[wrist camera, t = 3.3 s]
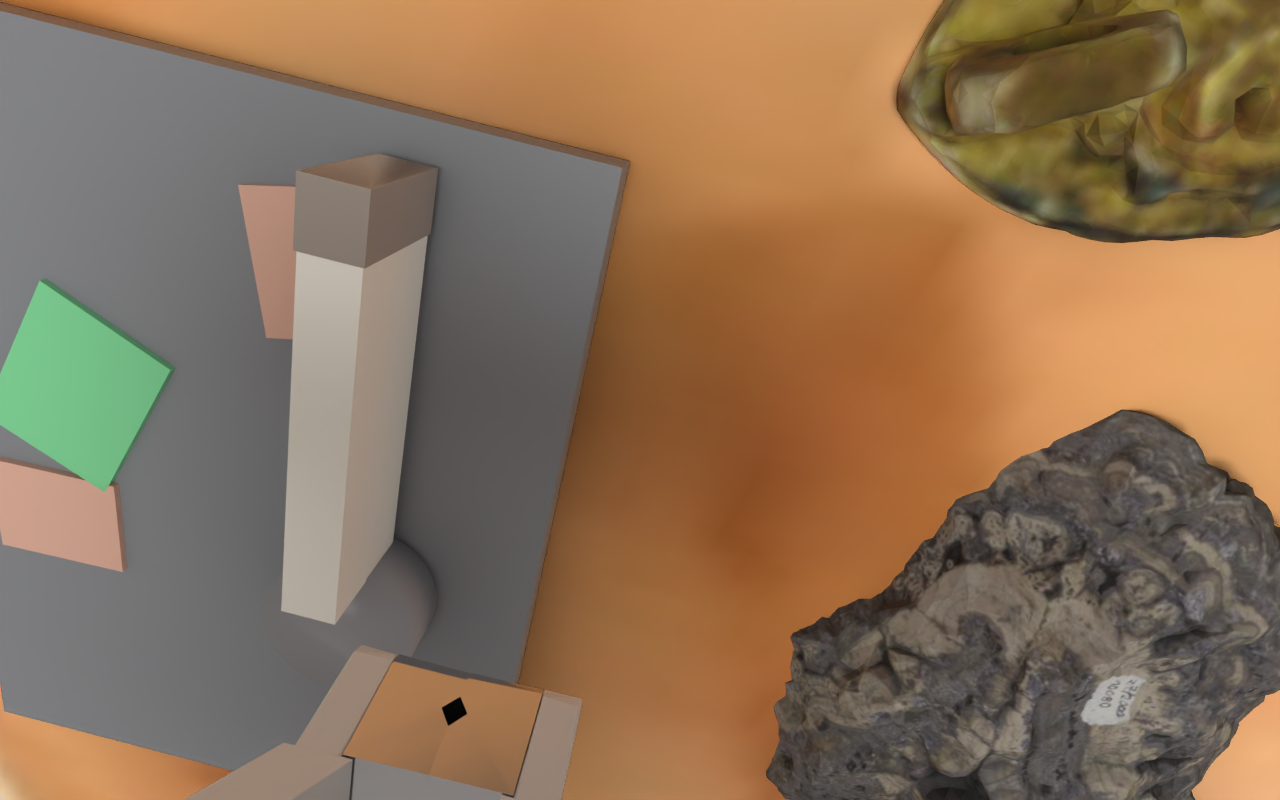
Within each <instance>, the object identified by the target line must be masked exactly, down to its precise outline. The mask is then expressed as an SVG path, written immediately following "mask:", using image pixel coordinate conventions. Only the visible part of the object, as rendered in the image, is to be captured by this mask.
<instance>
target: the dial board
mask: <svg viewBox="0 0 1280 800" xmlns="http://www.w3.org/2000/svg"><path fill="white" fill-rule="evenodd" d="M374 153H380V154H384V155H388V156H392V157H396V158H400V159H404V160H408V161H412V162H415V163H419V164H423V165H427V166H431V167H435V168H438V174H437V183H436V191H435V200H434V209H433V218H432V226H431V234H430V235H428V238H427V246H426V255H425V264H424V273H423V282H422V290H421V299H420V308H419V317H418V326H417V335H416V343H415V352H414V361H413V370H412V379H411V387H410V396H409V405H408V414H407V423H406V432H405V440H404V449H403V458H402V467H401V476H400V484H399V493H398V502H397V511H396V520H395V529H394V538H396V539H398V540H399V541H401V542H402V543H404V544H405V545H407V546H408V547H409V548H410V549H411V550H413V551H414V552H415V553H416V554H417V555H418V556H419V558H420V559H421V560H422V561H423V562H424V564H425V565H426V567H427V568H428V570H429V572H430V574H431V576H432V578H433V581H434V584H435V588H436V594H437V604H436V609H435V613H434V616H433V618H432V620H431V622H430V624H429V626H428V627H427V629H426V631H425V633H424V635H423V636H422V638H421V640H420V642H419V644H418V646H417V647H416V649H415V651H414V653H413V655H412V658H415V659H419V660H423V661H426V662H430V663H434V664H437V665H441V666H445V667H449V668H452V669H456V670H460V671H463V672H467V673H471V674H472V673H475V674H479V675H483V676H488V677H492V678H496V679H501V680H505V681H509V682H514V683H518V681H519V676H520V671H521V667H522V662H523V657H524V653H525V648H526V643H527V639H528V634H529V629H530V625H531V620H532V615H533V611H534V606H535V602H536V597H537V592H538V588H539V583H540V578H541V574H542V569H543V564H544V560H545V555H546V550H547V546H548V541H549V536H550V532H551V527H552V522H553V518H554V513H555V508H556V504H557V499H558V494H559V490H560V485H561V480H562V476H563V471H564V466H565V462H566V457H567V452H568V448H569V443H570V438H571V434H572V429H573V424H574V420H575V415H576V411H577V406H578V401H579V397H580V392H581V387H582V383H583V378H584V373H585V369H586V364H587V359H588V355H589V350H590V345H591V341H592V336H593V331H594V327H595V322H596V317H597V313H598V308H599V303H600V299H601V294H602V289H603V285H604V280H605V275H606V271H607V266H608V261H609V257H610V252H611V247H612V243H613V238H614V234H615V229H616V224H617V220H618V215H619V210H620V206H621V201H622V196H623V192H624V187H625V182H626V178H627V173H628V168H629V164H630V161H626V160H623V159H619V158H615V157H611V156H607V155H603V154H599V153H595V152H591V151H587V150H583V149H579V148H575V147H571V146H567V145H563V144H559V143H555V142H551V141H547V140H543V139H539V138H535V137H531V136H528V135H524V134H520V133H516V132H512V131H508V130H504V129H500V128H496V127H492V126H488V125H484V124H480V123H476V122H472V121H468V120H464V119H460V118H456V117H452V116H448V115H444V114H440V113H436V112H432V111H429V110H425V109H421V108H417V107H413V106H409V105H405V104H401V103H397V102H393V101H389V100H385V99H381V98H377V97H373V96H369V95H365V94H361V93H357V92H353V91H349V90H345V89H341V88H337V87H333V86H330V85H326V84H322V83H318V82H314V81H310V80H306V79H302V78H298V77H294V76H290V75H286V74H282V73H278V72H274V71H270V70H266V69H262V68H258V67H254V66H250V65H246V64H242V63H238V62H235V61H231V60H227V59H223V58H219V57H215V56H211V55H207V54H203V53H199V52H195V51H191V50H187V49H183V48H179V47H175V46H171V45H167V44H163V43H159V42H155V41H151V40H147V39H143V38H139V37H136V36H132V35H128V34H124V33H120V32H116V31H112V30H108V29H104V28H100V27H96V26H92V25H88V24H84V23H80V22H76V21H72V20H68V19H64V18H60V17H56V16H52V15H48V14H44V13H40V12H37V11H33V10H29V9H25V8H21V7H17V6H13V5H9V4H5V3H1V2H0V686H1V692H2V698H3V705H4V711H5V712H9V713H13V714H17V715H21V716H25V717H28V718H32V719H36V720H40V721H44V722H48V723H51V724H55V725H59V726H63V727H67V728H70V729H74V730H78V731H82V732H86V733H90V734H93V735H97V736H101V737H105V738H109V739H113V740H116V741H120V742H124V743H128V744H132V745H136V746H139V747H143V748H147V749H151V750H155V751H159V752H162V753H166V754H170V755H174V756H178V757H182V758H185V759H189V760H193V761H197V762H201V763H204V764H208V765H212V766H216V767H220V768H224V769H227V770H231V771H235V770H236V769H238V768H240V767H242V766H243V765H245V764H247V763H249V762H250V761H252V760H254V759H256V758H257V757H259V756H261V755H263V754H264V753H266V752H268V751H270V750H271V749H273V748H275V747H277V746H278V745H280V744H282V743H288V744H292V745H296V743H297V741H298V740H299V738H300V737H301V735H302V733H303V732H304V730H305V729H306V727H307V725H308V724H309V722H310V721H311V719H312V717H313V716H314V714H315V713H316V711H317V709H318V708H319V706H320V705H321V703H322V701H323V700H324V698H325V697H326V695H327V693H328V692H329V690H330V689H331V687H328V686H325V685H322V684H319V683H317V682H315V681H312V680H311V679H309V678H307V677H305V676H303V675H302V674H300V673H299V672H297V671H296V670H295V669H293V668H292V667H291V666H290V665H289V664H287V663H286V662H285V661H284V660H283V659H282V658H281V656H280V655H279V654H278V653H277V652H276V650H275V649H274V647H273V646H272V644H271V642H270V640H269V638H268V636H267V634H266V631H265V628H264V624H263V618H262V609H263V602H264V599H265V596H266V594H267V592H268V590H269V589H270V587H271V586H272V585H273V583H274V582H275V581H276V580H277V579H278V578H279V577H280V576H281V575H282V573H283V558H284V534H285V511H286V487H287V463H288V440H289V416H290V393H291V369H292V346H293V322H294V298H295V275H296V251H293V234H294V210H295V185H296V170H300V169H305V168H309V167H314V166H319V165H323V164H328V163H332V162H337V161H342V160H346V159H351V158H355V157H360V156H365V155H369V154H374Z"/></svg>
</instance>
